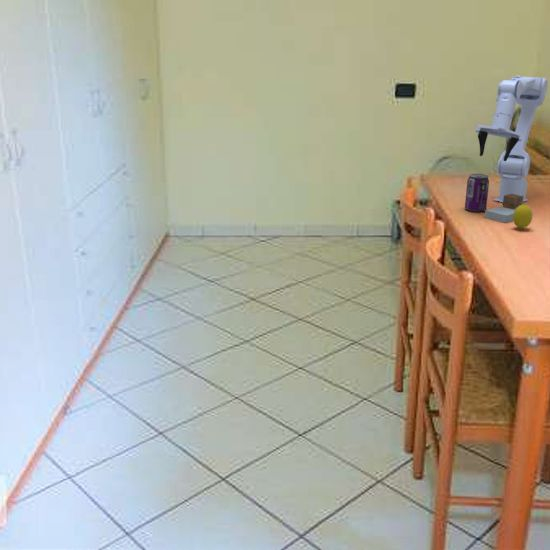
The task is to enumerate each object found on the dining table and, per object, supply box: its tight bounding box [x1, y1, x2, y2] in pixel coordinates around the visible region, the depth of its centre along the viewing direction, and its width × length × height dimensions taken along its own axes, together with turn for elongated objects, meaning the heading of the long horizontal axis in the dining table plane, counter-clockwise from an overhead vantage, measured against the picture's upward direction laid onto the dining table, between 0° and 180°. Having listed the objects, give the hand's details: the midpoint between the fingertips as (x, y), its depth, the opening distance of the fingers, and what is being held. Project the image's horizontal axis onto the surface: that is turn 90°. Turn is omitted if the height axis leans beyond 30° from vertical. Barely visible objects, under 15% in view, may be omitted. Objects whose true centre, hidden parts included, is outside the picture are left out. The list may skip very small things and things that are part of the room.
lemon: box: [512, 203, 533, 230], centre depth 209 cm, size 6×6×8 cm
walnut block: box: [502, 194, 524, 210], centre depth 227 cm, size 4×4×6 cm
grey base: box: [484, 206, 515, 224], centre depth 221 cm, size 8×8×2 cm
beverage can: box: [464, 173, 490, 213], centre depth 230 cm, size 7×7×12 cm
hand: (493, 157), depth 217 cm, fingers open, 7 cm apart
